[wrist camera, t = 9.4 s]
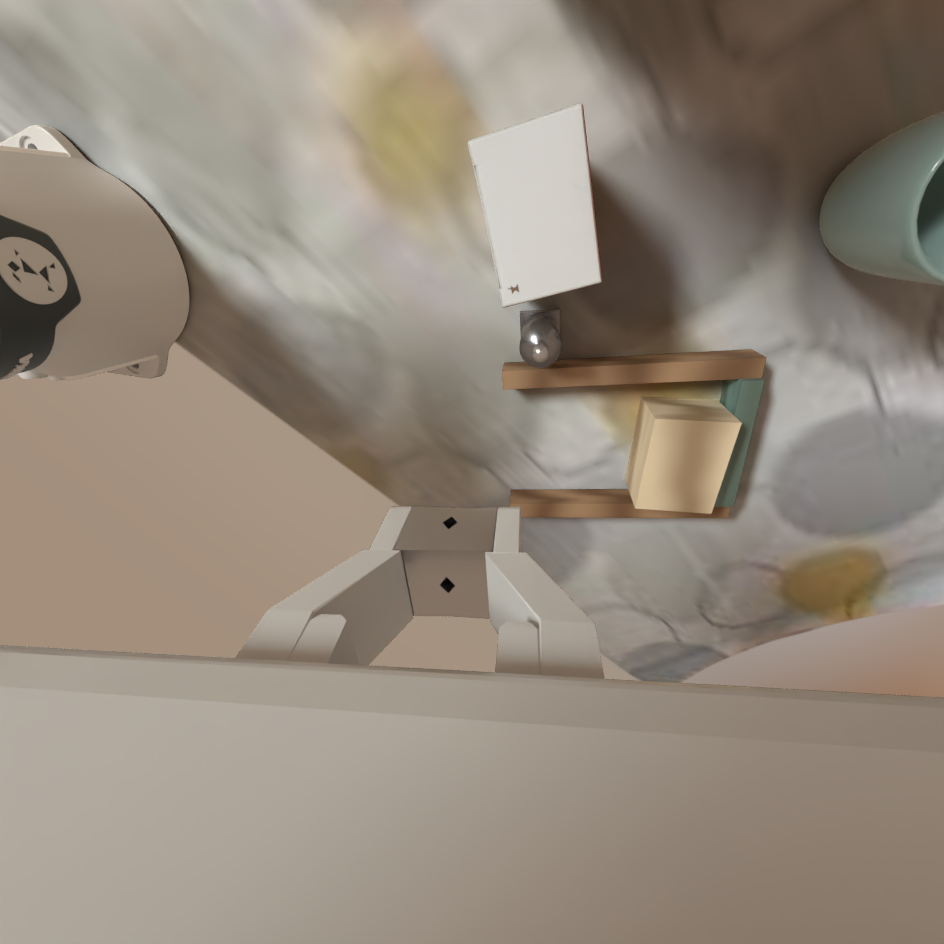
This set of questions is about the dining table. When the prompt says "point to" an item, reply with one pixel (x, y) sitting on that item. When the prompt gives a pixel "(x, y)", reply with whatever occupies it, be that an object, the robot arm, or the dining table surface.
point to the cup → (891, 207)
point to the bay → (730, 366)
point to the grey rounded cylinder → (540, 337)
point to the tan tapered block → (680, 454)
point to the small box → (539, 205)
